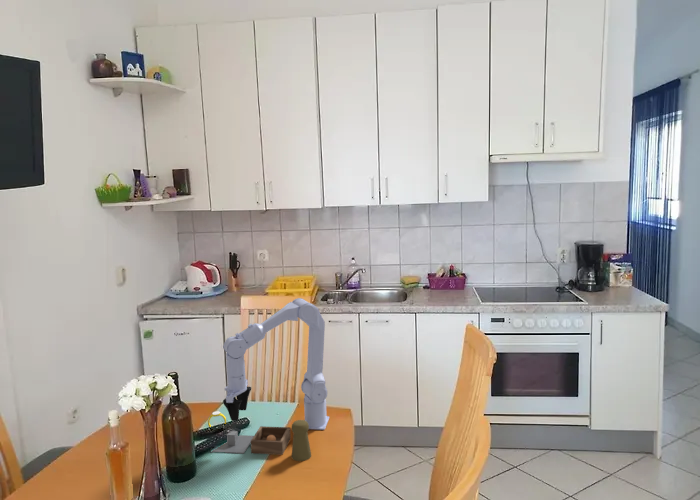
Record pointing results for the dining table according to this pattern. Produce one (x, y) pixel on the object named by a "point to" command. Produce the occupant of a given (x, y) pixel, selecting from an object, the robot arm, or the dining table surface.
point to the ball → (271, 438)
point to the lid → (235, 443)
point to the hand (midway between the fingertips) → (238, 415)
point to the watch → (215, 416)
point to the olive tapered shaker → (300, 441)
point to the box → (270, 447)
